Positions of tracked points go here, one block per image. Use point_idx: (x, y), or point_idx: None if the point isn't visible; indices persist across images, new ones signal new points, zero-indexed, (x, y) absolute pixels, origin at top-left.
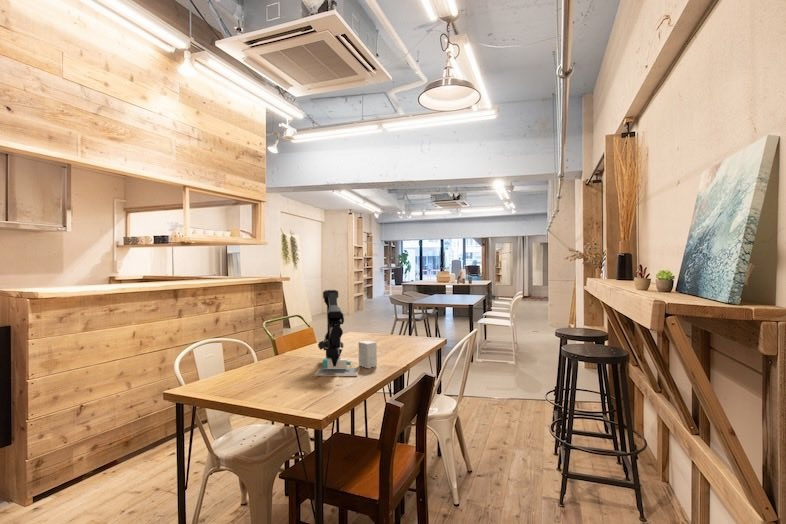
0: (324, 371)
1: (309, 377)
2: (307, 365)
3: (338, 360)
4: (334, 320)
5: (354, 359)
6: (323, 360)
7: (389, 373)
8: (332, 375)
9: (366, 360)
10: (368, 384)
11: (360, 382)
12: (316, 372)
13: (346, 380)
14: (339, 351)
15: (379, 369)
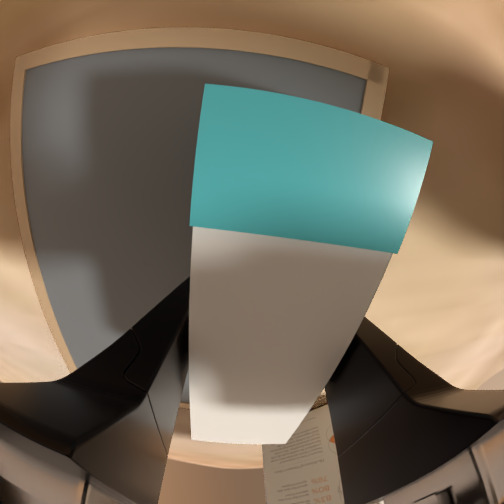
0: (162, 128)
1: (22, 27)
2: (494, 6)
3: (191, 394)
4: None
5: (491, 343)
6: (202, 109)
7: (171, 456)
8: (23, 244)
9: (272, 468)
10: (10, 380)
11: (13, 366)
12: (116, 36)
13: (6, 321)
14: (356, 490)
15: (242, 448)
